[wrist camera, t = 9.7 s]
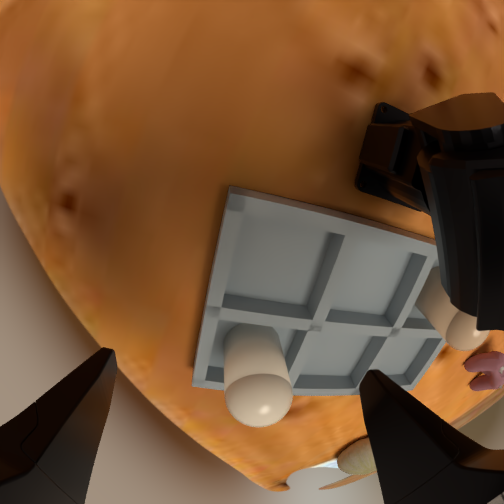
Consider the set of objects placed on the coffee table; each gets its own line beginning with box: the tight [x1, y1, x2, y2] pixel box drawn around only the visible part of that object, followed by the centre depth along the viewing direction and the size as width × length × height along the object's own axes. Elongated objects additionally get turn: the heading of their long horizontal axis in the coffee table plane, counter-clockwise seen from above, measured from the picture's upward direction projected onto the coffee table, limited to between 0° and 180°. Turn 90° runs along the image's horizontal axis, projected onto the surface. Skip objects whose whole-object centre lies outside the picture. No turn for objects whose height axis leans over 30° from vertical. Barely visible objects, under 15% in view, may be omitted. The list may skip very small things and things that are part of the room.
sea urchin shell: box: [337, 437, 377, 475], centre depth 34 cm, size 9×8×8 cm
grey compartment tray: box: [192, 185, 446, 396], centre depth 22 cm, size 24×16×2 cm
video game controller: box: [464, 351, 504, 391], centre depth 29 cm, size 10×5×7 cm, turn 41°
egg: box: [223, 323, 293, 427], centre depth 20 cm, size 5×5×8 cm
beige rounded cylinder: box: [414, 266, 490, 351], centre depth 19 cm, size 5×5×8 cm
